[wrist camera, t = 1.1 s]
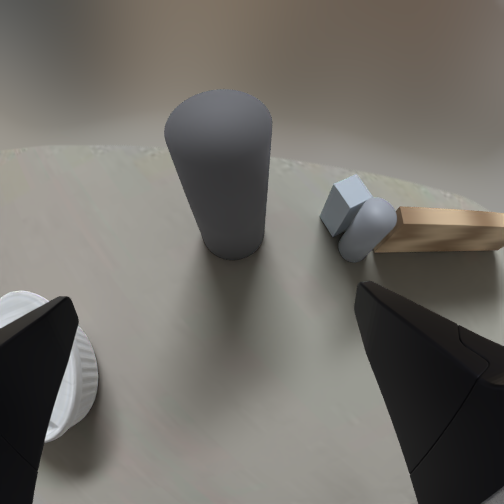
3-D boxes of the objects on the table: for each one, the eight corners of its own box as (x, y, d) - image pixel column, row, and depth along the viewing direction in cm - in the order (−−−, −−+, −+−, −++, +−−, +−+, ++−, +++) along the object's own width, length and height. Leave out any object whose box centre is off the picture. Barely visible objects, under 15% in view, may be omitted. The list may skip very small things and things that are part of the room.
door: (374, 252, 23) (403, 223, 18) (370, 226, 24) (396, 192, 18) (497, 250, 23) (532, 228, 18) (492, 229, 24) (525, 205, 18)
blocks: (474, 472, 16) (514, 486, 11) (456, 489, 16) (494, 508, 10) (341, 206, 25) (362, 164, 19) (317, 217, 24) (334, 176, 19)
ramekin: (26, 432, 18) (-11, 439, 13) (6, 316, 22) (-31, 304, 17) (126, 430, 19) (95, 445, 14) (97, 292, 23) (63, 274, 18)
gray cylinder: (277, 230, 24) (295, 123, 13) (232, 272, 23) (212, 187, 12) (234, 192, 25) (222, 77, 14) (190, 230, 24) (144, 128, 13)
